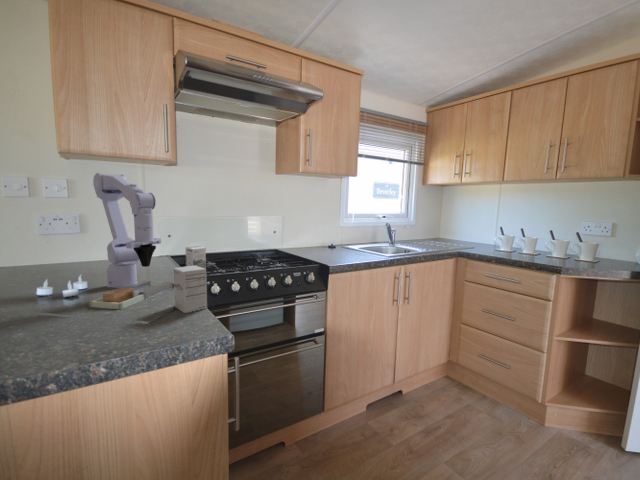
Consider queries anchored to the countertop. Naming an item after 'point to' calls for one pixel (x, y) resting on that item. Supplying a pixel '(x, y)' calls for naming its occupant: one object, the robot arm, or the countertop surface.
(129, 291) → the rear copper block
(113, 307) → the tray
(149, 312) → the countertop surface
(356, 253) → the countertop surface
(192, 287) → the supplement box
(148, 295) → the aluminium slot
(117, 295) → the front copper block
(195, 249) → the syrup box
